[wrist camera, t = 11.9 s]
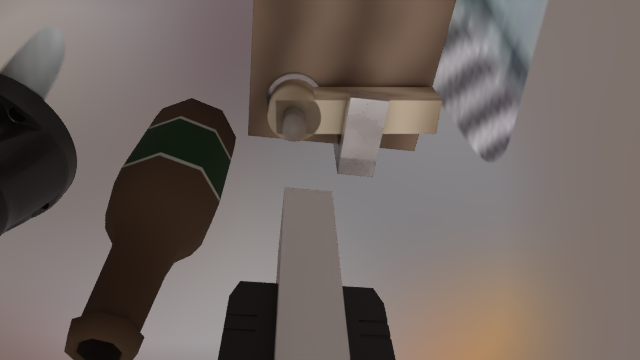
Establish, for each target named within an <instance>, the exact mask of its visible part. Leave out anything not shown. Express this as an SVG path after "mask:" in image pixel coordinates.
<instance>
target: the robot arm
mask: <svg viewBox="0 0 640 360" xmlns="http://www.w3.org/2000/svg"><path fill="white" fill-rule="evenodd" d="M76 168H77V157H76V150H75V146H74V143H73V141H72V138H71V136H70V134H69V132H68V130H67V128H66V126H65V125H64V123H63V122H62V120H61V119H60V118H59V116H58V115H57V114H56V113H55V112H54V110H53V109H52V108H51V107H50V106H49V105H48V104H47V103H46V102H45V101H43V100H42V99H41V98H40V97H39V96H38V95H36V94H35V93H34V92H32V91H31V90H29V89H28V88H26V87H25V86H23V85H21V84H20V83H18V82H16V81H14V80H12V79H10V78H8V77H6V76H4V75H1V74H0V236H1V234H3V233H5V232H6V231H8V230H10V229H12V228H14V227H16V226H18V225H20V224H22V223H24V222H26V221H27V220H29V219H30V218H33V217H35V216H37V215H40V214H41V213H43V212H45V211H46V210H48V209H50V208H51V207H52V206H53V205H54V204H56V203H57V201H58V200H59V199H60V198H61V197H62V195H63V194H64V193H65V192H66V191H67V189H68V188H69V187H70V185H71V184H72V182H73V180H74V177H75V173H76ZM218 360H395V355H394V351H393V346H392V341H391V339H390V331H389V326H388V325H387V317H386V312H385V307H384V303H383V302H382V300H381V299H380V297H379V296H378V295H377V293H376V292H375V290H374V289H373V288H362V287H346V286H342V281H341V272H340V262H339V252H338V244H337V234H336V225H335V215H334V206H333V197H332V192H331V191H320V190H308V189H296V188H285V189H284V200H283V210H282V221H281V230H280V240H279V250H278V265H277V281H276V283H262V282H246V281H245V282H244V281H240V282H239V284H238V285H237V286H236V288H235V289H234V290H233V292H232V293H231V294H230V296H229V301H228V306H227V312H226V318H225V323H224V330H223V334H222V340H221V346H220V351H219V356H218Z"/></svg>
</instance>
